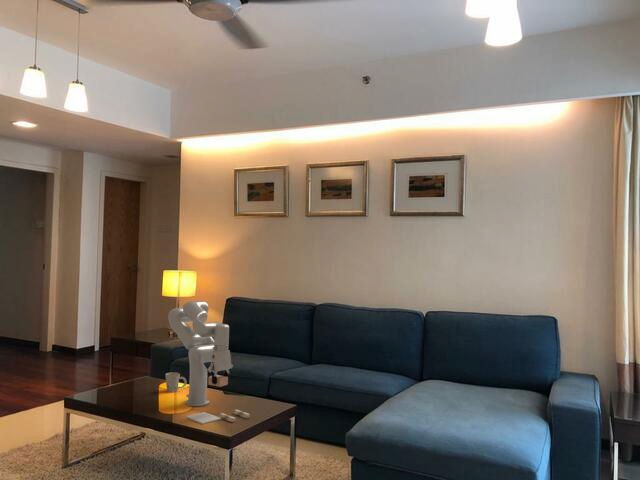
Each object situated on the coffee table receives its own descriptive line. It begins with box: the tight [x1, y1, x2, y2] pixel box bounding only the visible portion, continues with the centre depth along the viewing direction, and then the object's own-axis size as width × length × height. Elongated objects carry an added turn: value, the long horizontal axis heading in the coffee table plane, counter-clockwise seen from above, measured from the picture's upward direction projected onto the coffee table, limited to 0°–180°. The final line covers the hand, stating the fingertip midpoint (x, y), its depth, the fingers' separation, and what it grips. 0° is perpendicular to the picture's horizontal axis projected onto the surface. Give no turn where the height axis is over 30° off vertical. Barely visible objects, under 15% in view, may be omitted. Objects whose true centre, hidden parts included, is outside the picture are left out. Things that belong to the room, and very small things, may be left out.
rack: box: [218, 409, 251, 424], centre depth 260 cm, size 11×11×2 cm
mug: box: [164, 371, 187, 393], centre depth 308 cm, size 8×13×10 cm, turn 96°
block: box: [207, 374, 229, 388], centre depth 269 cm, size 8×6×4 cm
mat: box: [185, 411, 222, 425], centre depth 257 cm, size 14×11×1 cm
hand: (220, 382), depth 268 cm, fingers closed on block, 6 cm apart
